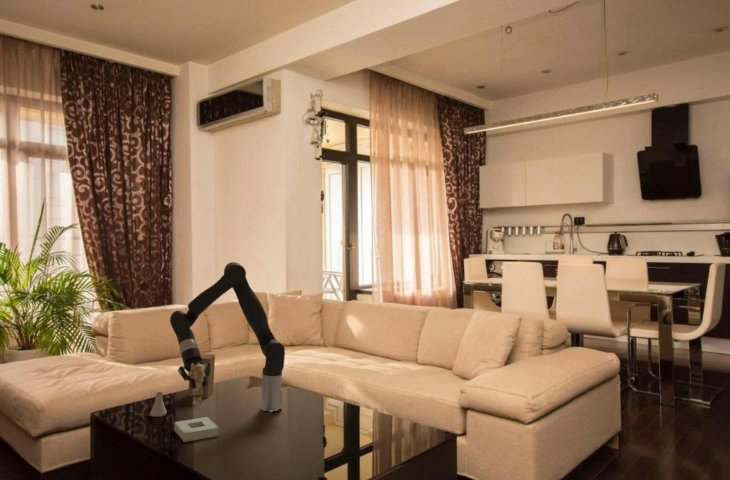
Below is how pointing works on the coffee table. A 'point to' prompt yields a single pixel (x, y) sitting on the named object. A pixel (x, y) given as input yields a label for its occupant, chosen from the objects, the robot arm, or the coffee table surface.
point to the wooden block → (210, 379)
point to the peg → (198, 384)
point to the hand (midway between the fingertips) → (199, 386)
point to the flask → (158, 406)
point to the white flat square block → (196, 429)
